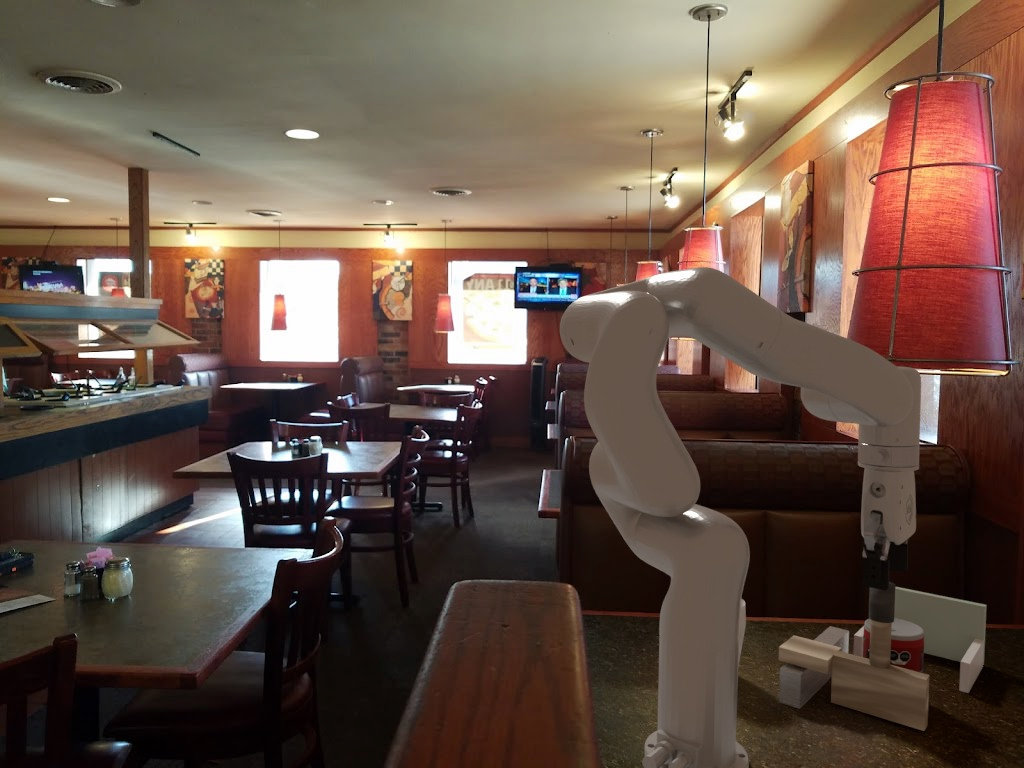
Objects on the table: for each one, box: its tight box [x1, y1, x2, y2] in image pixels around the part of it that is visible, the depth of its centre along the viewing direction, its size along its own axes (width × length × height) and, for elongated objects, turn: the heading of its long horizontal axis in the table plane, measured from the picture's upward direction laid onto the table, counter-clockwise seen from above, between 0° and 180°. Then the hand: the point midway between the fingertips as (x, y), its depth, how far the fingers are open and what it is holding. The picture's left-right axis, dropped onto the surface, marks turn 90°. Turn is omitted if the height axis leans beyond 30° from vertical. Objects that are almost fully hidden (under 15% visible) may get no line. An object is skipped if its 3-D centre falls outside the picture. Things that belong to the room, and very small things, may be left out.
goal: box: [852, 586, 988, 694], centre depth 122 cm, size 13×16×10 cm
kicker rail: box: [778, 626, 850, 710], centre depth 115 cm, size 22×3×5 cm, turn 139°
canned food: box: [863, 618, 925, 673], centre depth 109 cm, size 8×8×11 cm
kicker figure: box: [778, 581, 930, 732], centre depth 106 cm, size 6×19×18 cm, turn 49°
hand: (885, 578), depth 103 cm, fingers open, 9 cm apart
